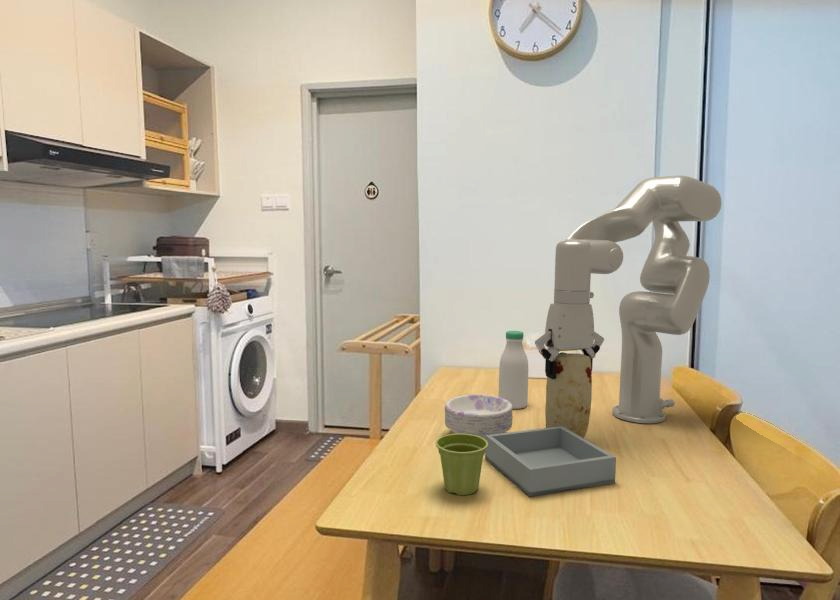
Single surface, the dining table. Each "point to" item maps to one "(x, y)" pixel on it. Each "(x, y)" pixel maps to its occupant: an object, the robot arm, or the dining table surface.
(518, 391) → the milk bottle
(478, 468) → the plant pot
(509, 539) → the dining table surface
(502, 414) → the paper bowls
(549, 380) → the food model
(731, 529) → the dining table surface
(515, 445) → the bin
